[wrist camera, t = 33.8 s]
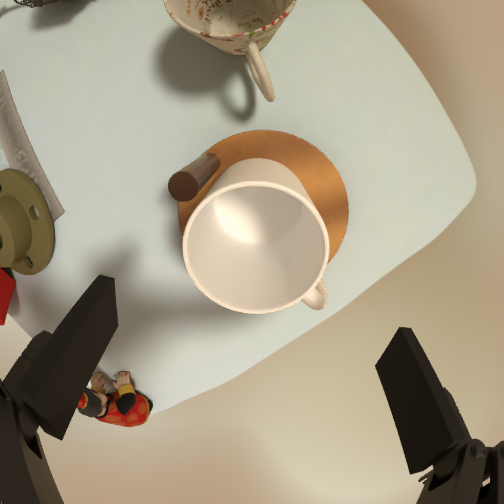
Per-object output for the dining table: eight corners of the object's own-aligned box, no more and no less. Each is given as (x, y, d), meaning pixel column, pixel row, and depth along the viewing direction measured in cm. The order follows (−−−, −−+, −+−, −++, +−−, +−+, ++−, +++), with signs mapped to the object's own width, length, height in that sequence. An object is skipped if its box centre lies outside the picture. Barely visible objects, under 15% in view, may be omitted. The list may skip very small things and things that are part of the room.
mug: (266, -17, 18) (268, -71, 9) (317, 91, 23) (348, 76, 14) (184, 12, 19) (147, -31, 10) (231, 119, 24) (213, 119, 15)
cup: (260, 136, 23) (260, 147, 13) (346, 235, 26) (385, 297, 17) (192, 201, 25) (153, 250, 16) (280, 286, 29) (287, 362, 20)
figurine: (155, 374, 45) (96, 350, 33) (162, 426, 39) (98, 417, 28) (116, 381, 46) (56, 359, 34) (120, 429, 41) (56, 418, 29)
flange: (2, 158, 20) (-44, 203, 22) (51, 280, 26) (-4, 295, 28) (28, 149, 24) (-24, 192, 26) (71, 260, 31) (13, 279, 33)
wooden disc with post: (160, 154, 24) (108, 176, 15) (332, 116, 22) (374, 116, 13) (207, 298, 31) (189, 365, 22) (352, 271, 29) (383, 334, 20)
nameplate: (63, 212, 28) (42, 230, 29) (64, 211, 28) (44, 230, 29) (1, 69, 19) (-16, 94, 20) (3, 69, 20) (-15, 94, 21)
